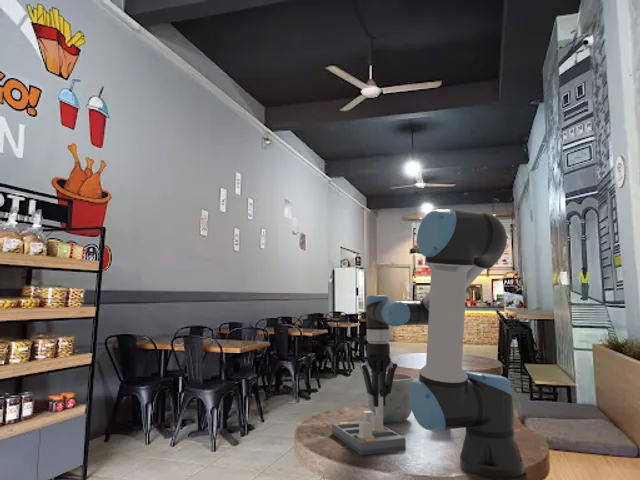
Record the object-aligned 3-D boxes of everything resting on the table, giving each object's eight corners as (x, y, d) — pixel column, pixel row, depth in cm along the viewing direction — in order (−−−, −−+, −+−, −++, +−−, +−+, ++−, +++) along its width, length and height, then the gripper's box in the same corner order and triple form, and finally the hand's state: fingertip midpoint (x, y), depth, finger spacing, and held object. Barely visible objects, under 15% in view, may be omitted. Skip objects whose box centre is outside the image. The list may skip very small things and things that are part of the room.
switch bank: (405, 449, 127) (405, 437, 128) (361, 455, 122) (360, 442, 123) (371, 429, 148) (371, 418, 148) (332, 433, 143) (332, 422, 143)
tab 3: (385, 436, 135) (385, 416, 136) (373, 437, 134) (373, 417, 135) (380, 433, 139) (380, 414, 139) (368, 434, 137) (368, 415, 138)
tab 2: (374, 444, 128) (374, 423, 128) (361, 445, 126) (361, 424, 127) (369, 440, 131) (369, 420, 132) (356, 442, 129) (356, 422, 130)
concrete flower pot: (412, 428, 150) (411, 381, 152) (362, 424, 154) (362, 378, 156) (416, 416, 166) (415, 373, 168) (371, 413, 170) (370, 371, 173)
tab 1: (376, 430, 141) (376, 412, 142) (365, 432, 140) (364, 413, 141) (371, 428, 144) (371, 410, 145) (360, 429, 143) (360, 411, 144)
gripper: (390, 341, 153) (392, 412, 150) (355, 342, 149) (356, 415, 145) (401, 342, 146) (403, 418, 143) (364, 343, 142) (366, 421, 138)
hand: (379, 416), depth 144 cm, fingers closed
